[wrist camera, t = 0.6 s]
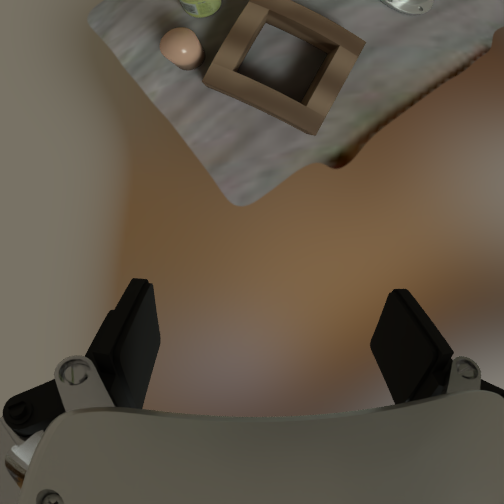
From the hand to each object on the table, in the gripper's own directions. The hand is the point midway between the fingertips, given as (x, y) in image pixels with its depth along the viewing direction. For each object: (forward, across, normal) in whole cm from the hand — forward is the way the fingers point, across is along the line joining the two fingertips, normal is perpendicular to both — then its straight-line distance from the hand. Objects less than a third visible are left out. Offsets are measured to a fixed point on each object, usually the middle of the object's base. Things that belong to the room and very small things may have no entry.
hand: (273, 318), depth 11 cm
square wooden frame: (+29, -3, -15) cm, 33 cm away
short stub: (+29, +9, -15) cm, 34 cm away
